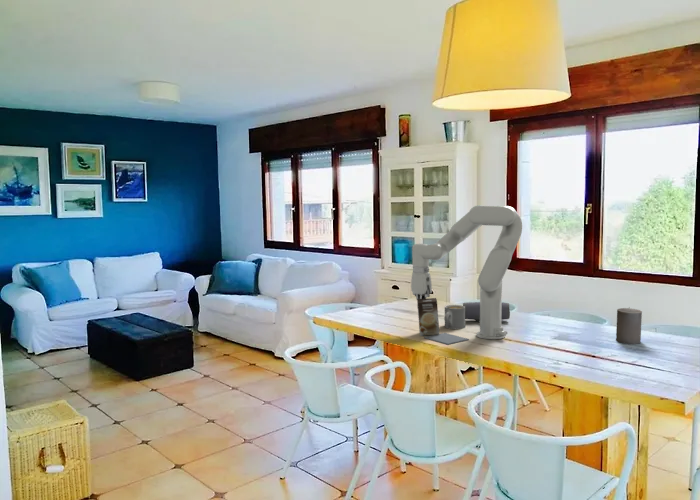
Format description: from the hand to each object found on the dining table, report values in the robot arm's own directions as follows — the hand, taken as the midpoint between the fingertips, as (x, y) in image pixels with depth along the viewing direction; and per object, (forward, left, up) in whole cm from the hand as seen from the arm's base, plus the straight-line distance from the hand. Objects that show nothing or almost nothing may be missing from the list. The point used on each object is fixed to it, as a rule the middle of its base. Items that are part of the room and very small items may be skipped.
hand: (421, 308), depth 262 cm
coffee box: (-6, 0, -11) cm, 13 cm away
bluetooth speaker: (-3, -42, -12) cm, 44 cm away
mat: (-17, 0, -12) cm, 20 cm away
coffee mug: (-2, -19, -12) cm, 22 cm away
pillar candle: (-69, -58, -12) cm, 91 cm away
